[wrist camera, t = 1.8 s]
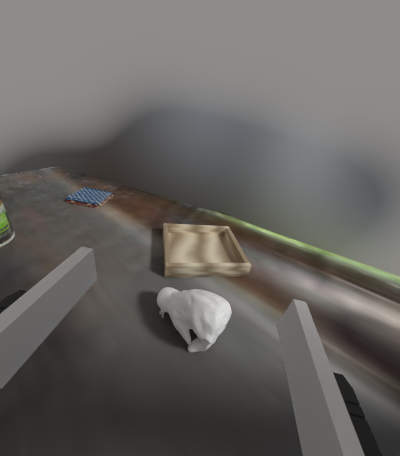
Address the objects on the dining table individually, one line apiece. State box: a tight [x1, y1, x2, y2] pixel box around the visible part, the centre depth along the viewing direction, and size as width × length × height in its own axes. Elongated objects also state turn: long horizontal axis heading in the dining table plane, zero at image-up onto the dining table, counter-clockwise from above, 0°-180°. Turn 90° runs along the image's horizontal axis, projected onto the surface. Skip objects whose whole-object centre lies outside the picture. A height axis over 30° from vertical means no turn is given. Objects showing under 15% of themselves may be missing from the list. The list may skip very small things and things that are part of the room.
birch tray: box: [163, 223, 251, 278], centre depth 46 cm, size 18×16×3 cm
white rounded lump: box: [157, 287, 232, 352], centre depth 29 cm, size 6×8×12 cm
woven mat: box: [66, 187, 114, 208], centre depth 61 cm, size 10×11×2 cm
